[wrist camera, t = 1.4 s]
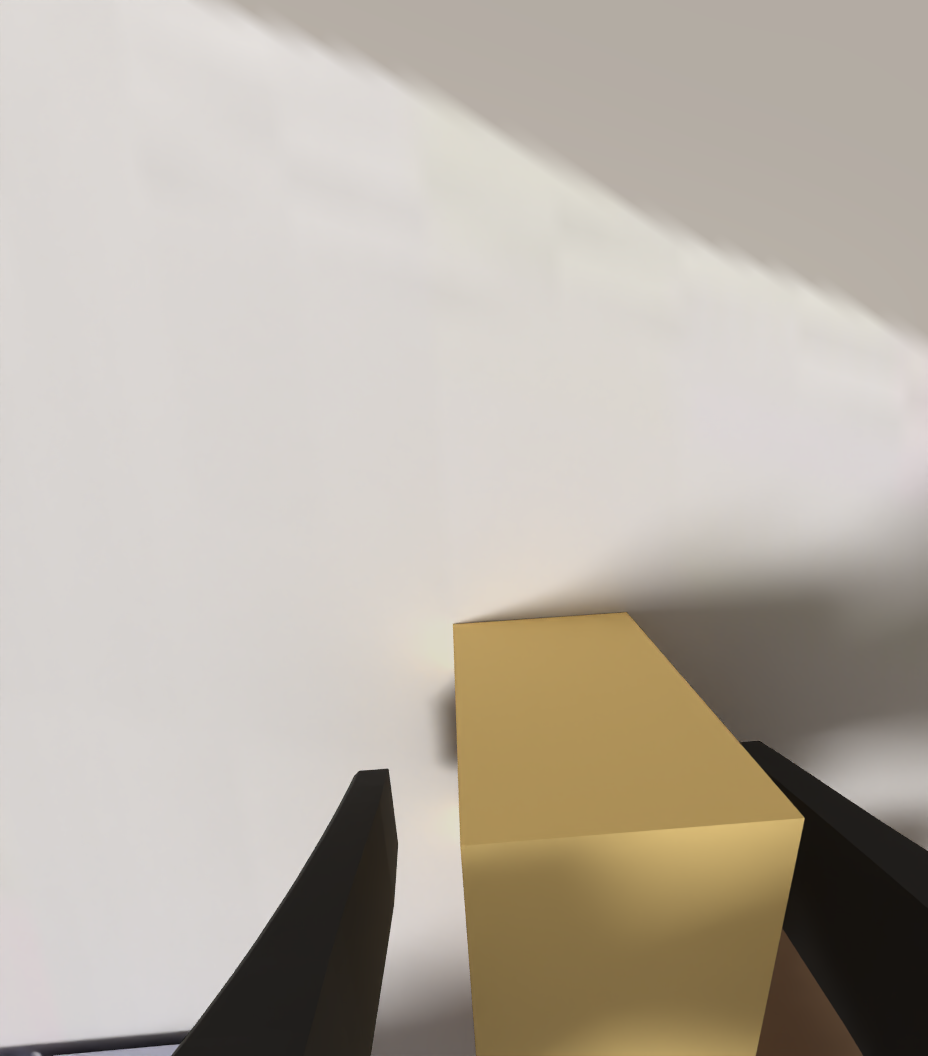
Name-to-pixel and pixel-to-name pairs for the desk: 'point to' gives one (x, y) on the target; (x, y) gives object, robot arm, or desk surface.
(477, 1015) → the yellow block
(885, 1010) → the robot arm
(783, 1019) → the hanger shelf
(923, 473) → the desk surface
